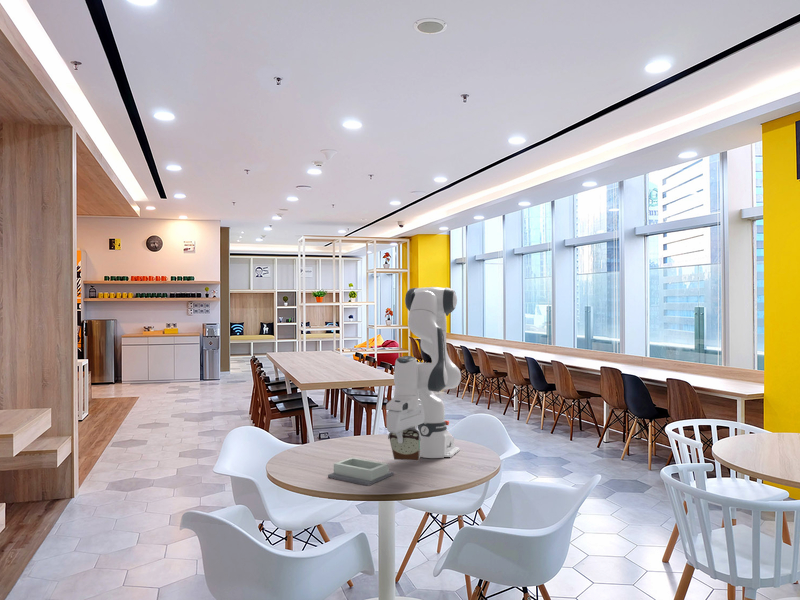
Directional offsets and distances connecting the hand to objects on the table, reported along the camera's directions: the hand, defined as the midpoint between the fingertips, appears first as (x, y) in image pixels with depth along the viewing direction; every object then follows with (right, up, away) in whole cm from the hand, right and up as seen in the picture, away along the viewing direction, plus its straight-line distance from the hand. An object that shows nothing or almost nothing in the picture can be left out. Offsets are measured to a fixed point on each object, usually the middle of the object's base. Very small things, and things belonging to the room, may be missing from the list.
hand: (406, 440), depth 194 cm
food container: (+1, -6, +2) cm, 7 cm away
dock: (-17, -14, +5) cm, 23 cm away
